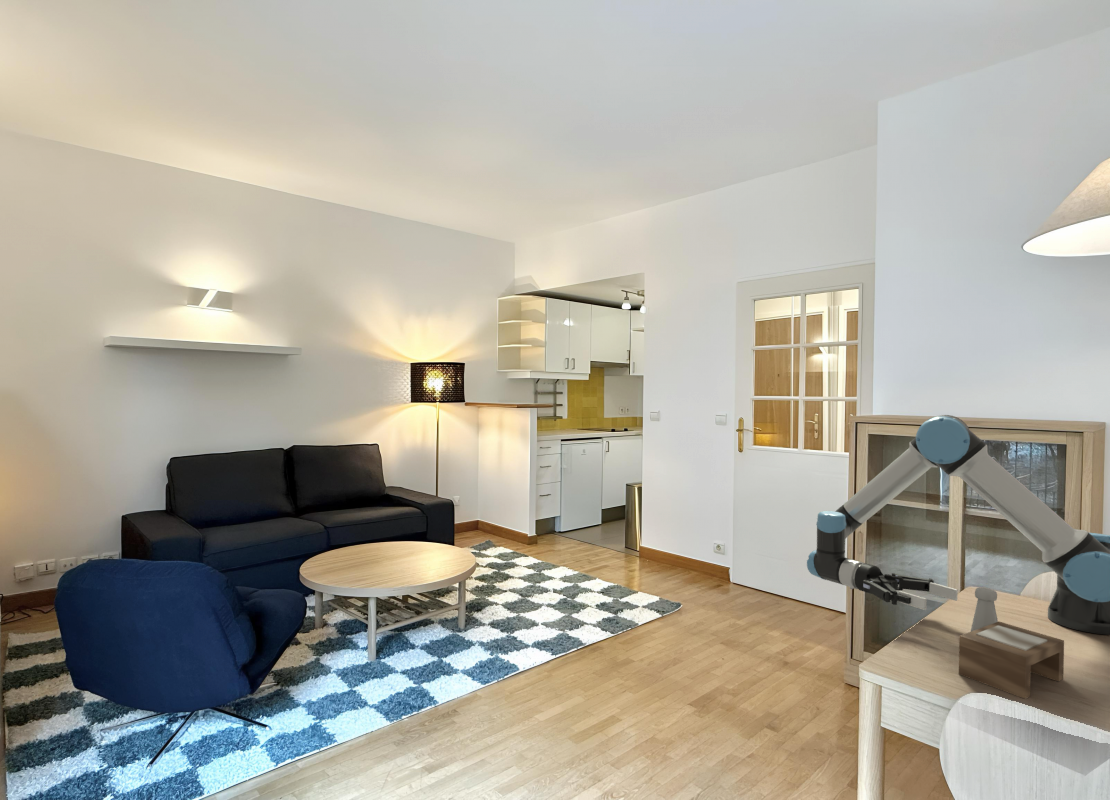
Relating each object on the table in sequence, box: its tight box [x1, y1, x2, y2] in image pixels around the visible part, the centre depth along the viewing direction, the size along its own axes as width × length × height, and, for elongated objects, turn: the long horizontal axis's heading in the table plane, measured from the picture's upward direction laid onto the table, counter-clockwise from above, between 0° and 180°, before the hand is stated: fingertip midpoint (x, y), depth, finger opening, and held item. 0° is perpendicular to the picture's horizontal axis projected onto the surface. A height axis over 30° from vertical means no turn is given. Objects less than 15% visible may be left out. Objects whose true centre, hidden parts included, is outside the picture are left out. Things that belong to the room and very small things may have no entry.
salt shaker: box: [970, 586, 998, 632], centre depth 146 cm, size 6×6×13 cm
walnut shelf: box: [958, 621, 1065, 699], centre depth 130 cm, size 16×12×8 cm
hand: (941, 599), depth 154 cm, fingers open, 13 cm apart
